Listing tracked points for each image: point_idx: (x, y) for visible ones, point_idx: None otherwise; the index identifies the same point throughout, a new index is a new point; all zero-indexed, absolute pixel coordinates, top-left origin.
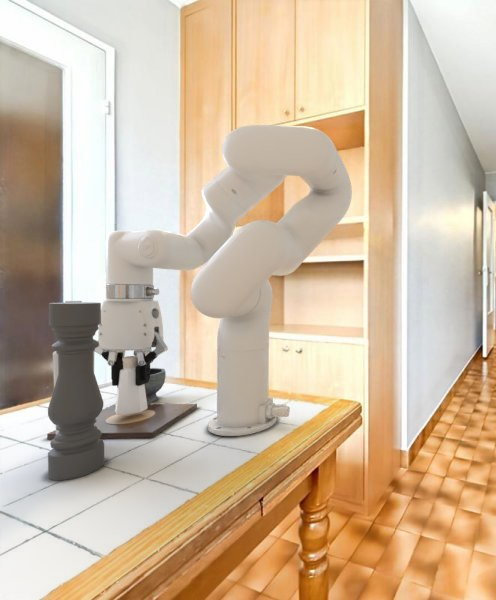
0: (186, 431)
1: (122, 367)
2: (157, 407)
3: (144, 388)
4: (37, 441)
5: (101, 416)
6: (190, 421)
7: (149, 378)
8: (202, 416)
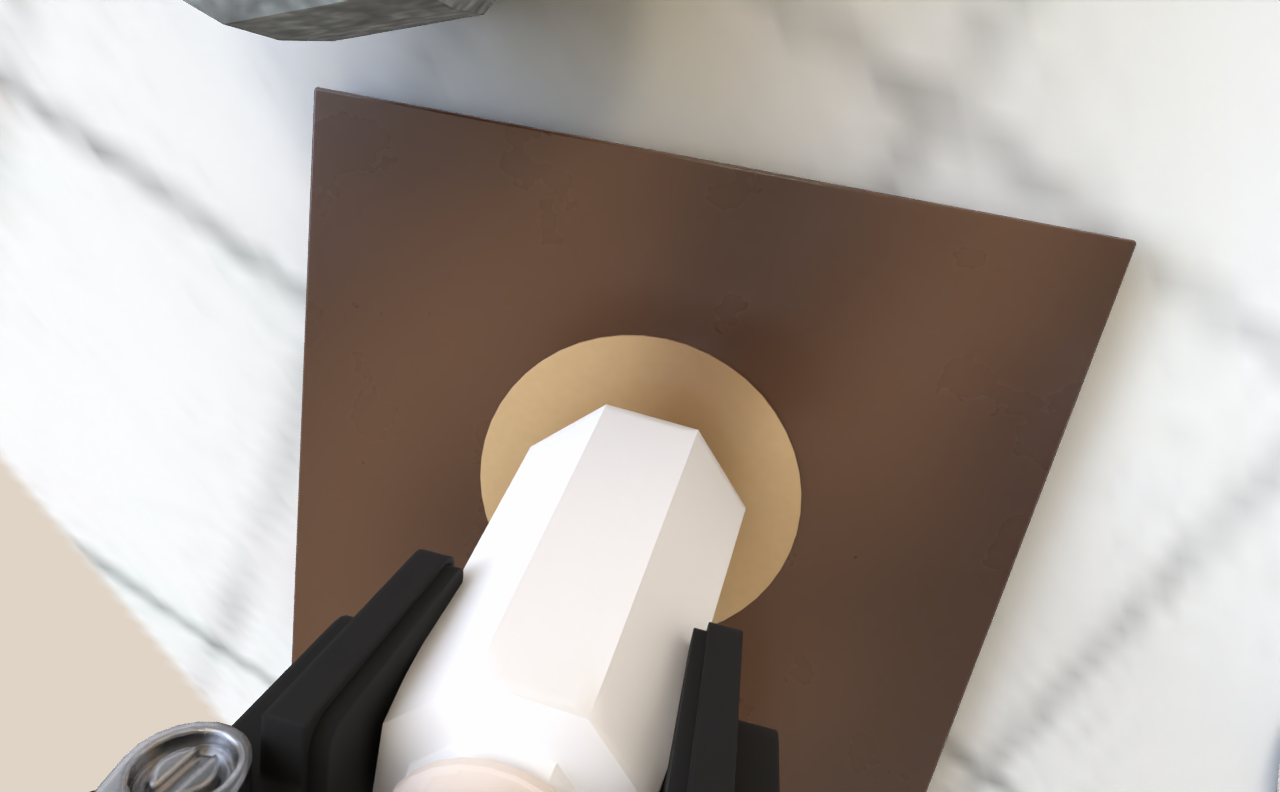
0: (1107, 772)
1: (352, 785)
2: (755, 280)
3: (711, 619)
4: (283, 658)
5: (408, 423)
6: (1105, 588)
7: (772, 729)
8: (1196, 495)
